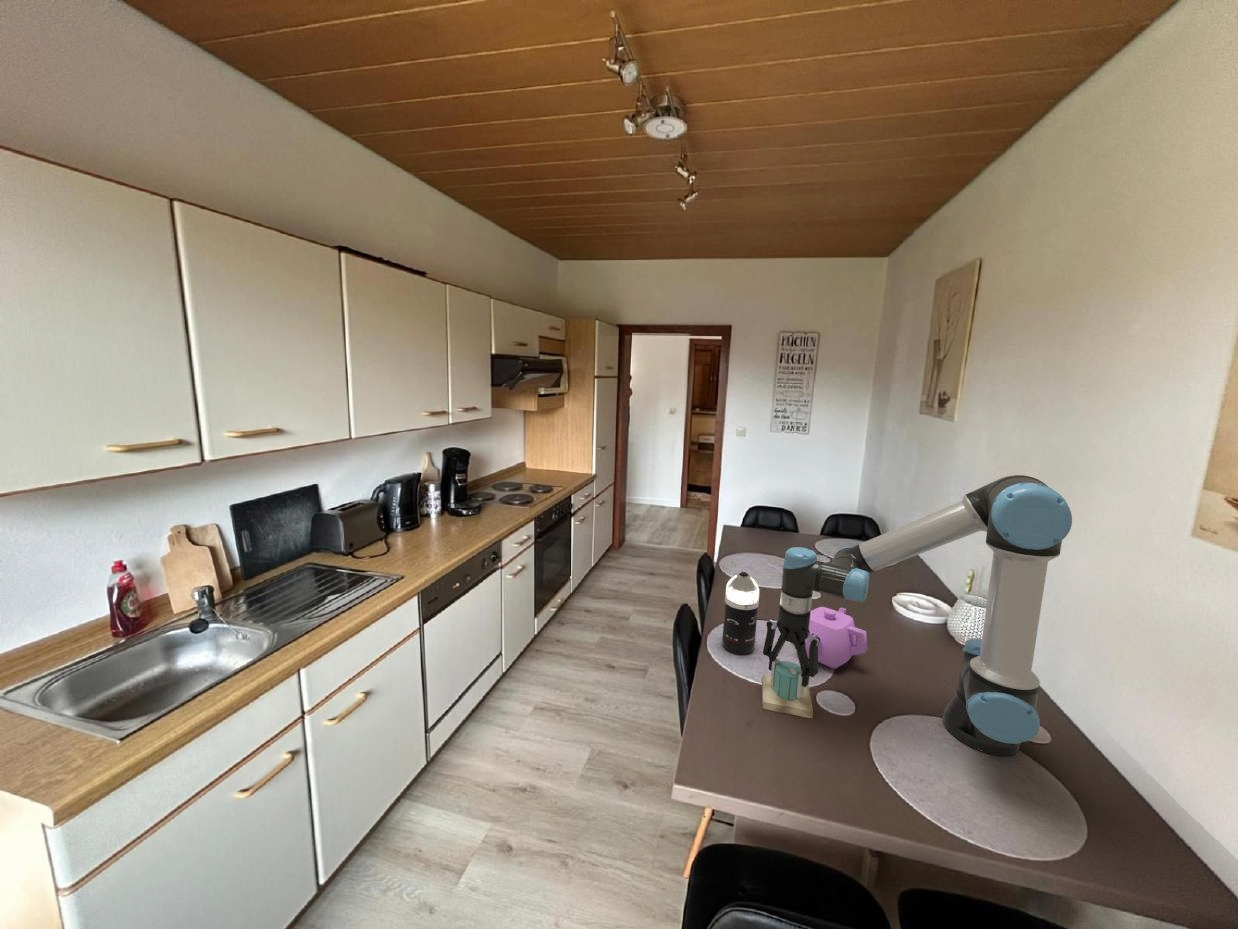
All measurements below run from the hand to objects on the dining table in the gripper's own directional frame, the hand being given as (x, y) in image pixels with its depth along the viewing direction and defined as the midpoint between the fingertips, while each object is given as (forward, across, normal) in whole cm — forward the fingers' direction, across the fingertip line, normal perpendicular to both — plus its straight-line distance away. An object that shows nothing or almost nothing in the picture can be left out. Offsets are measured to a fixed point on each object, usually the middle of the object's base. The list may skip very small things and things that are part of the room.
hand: (786, 688), depth 128 cm
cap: (+1, 0, 0) cm, 1 cm away
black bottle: (+3, -22, +12) cm, 26 cm away
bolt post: (+3, 0, 0) cm, 3 cm away
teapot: (+3, -2, +28) cm, 28 cm away
